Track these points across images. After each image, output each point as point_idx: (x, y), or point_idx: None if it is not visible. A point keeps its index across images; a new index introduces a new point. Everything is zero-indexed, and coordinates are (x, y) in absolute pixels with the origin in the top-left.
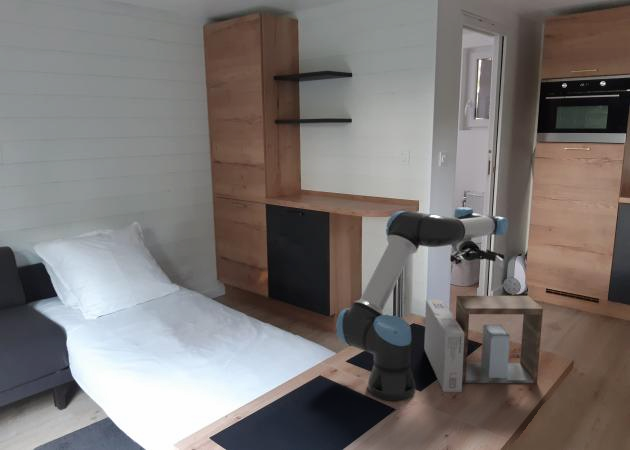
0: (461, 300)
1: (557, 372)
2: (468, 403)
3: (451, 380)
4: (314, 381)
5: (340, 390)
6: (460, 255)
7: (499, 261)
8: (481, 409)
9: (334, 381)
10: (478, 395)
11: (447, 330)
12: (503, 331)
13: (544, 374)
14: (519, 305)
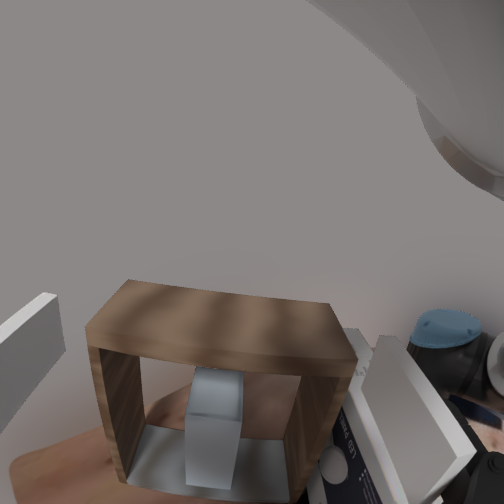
0: (340, 333)
1: (68, 442)
2: (288, 396)
3: None
4: (497, 417)
5: (461, 408)
6: (469, 500)
7: (38, 338)
8: (272, 385)
9: (479, 422)
10: (267, 411)
11: (355, 334)
12: (200, 383)
13: (100, 444)
14: (173, 296)
